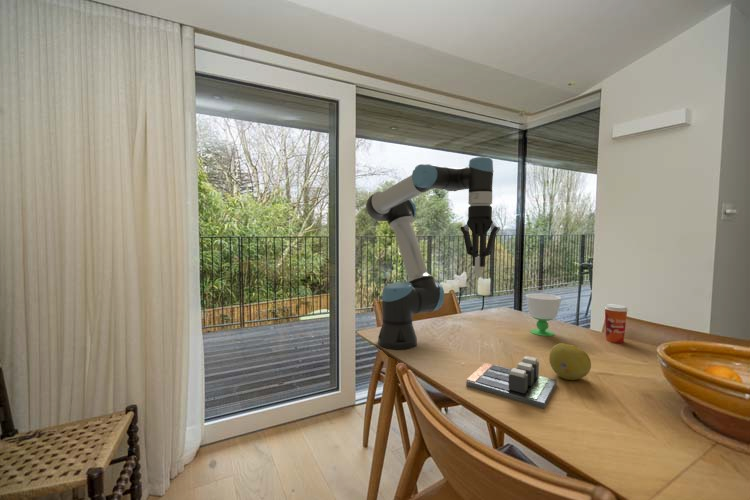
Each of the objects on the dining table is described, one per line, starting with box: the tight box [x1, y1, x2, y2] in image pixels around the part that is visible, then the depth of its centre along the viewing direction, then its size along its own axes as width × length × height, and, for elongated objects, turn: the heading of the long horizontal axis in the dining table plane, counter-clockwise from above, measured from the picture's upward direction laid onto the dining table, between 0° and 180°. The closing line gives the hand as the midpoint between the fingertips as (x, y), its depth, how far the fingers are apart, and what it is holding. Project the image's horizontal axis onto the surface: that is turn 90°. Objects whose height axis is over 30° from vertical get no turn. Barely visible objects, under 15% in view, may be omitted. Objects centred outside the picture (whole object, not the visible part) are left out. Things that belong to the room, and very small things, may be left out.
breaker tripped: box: [508, 367, 528, 394], centre depth 88 cm, size 4×3×5 cm
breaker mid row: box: [515, 361, 534, 386], centre depth 92 cm, size 4×3×5 cm
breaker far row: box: [521, 355, 540, 379], centre depth 96 cm, size 4×3×5 cm
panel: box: [465, 362, 557, 410], centre depth 94 cm, size 20×16×2 cm
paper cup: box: [604, 303, 629, 344], centre depth 131 cm, size 8×8×14 cm
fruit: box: [548, 342, 592, 381], centre depth 99 cm, size 10×11×10 cm
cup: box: [525, 292, 562, 337], centre depth 142 cm, size 14×14×16 cm
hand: (478, 276), depth 112 cm, fingers closed
